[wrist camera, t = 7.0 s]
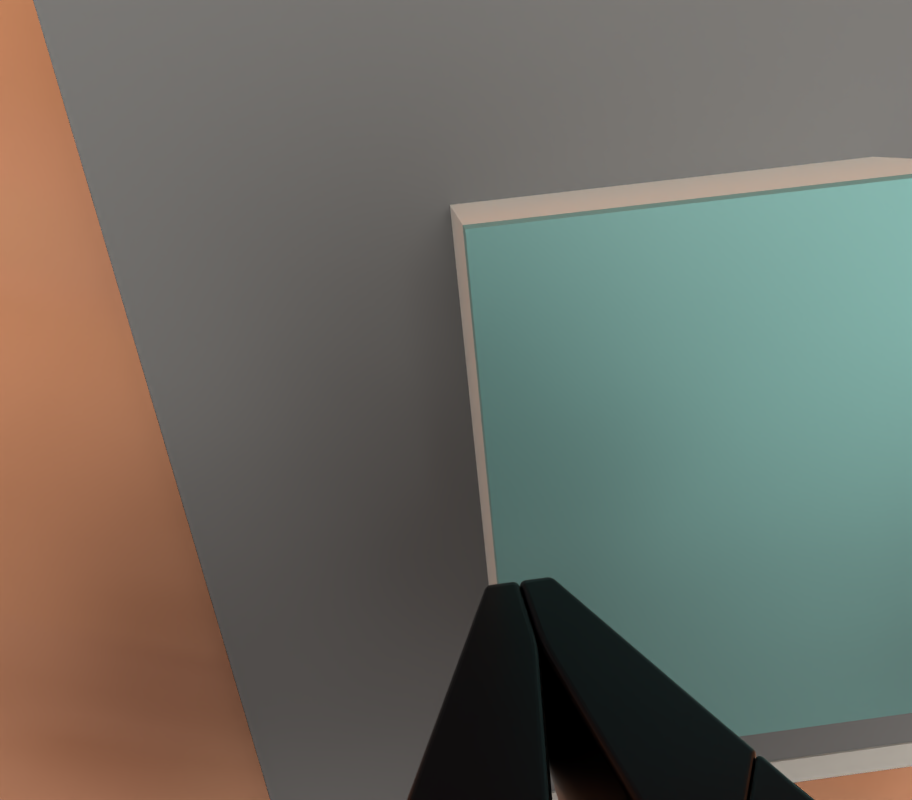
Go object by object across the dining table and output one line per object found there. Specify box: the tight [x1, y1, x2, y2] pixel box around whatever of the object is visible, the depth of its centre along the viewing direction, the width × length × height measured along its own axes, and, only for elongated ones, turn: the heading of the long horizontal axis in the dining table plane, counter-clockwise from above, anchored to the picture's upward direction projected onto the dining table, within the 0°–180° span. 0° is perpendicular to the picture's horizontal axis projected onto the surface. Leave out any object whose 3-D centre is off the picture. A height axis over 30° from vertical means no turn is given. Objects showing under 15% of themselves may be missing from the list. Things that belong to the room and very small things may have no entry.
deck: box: [450, 157, 912, 736], centre depth 11 cm, size 3×9×7 cm
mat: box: [33, 0, 912, 800], centre depth 13 cm, size 18×20×1 cm
